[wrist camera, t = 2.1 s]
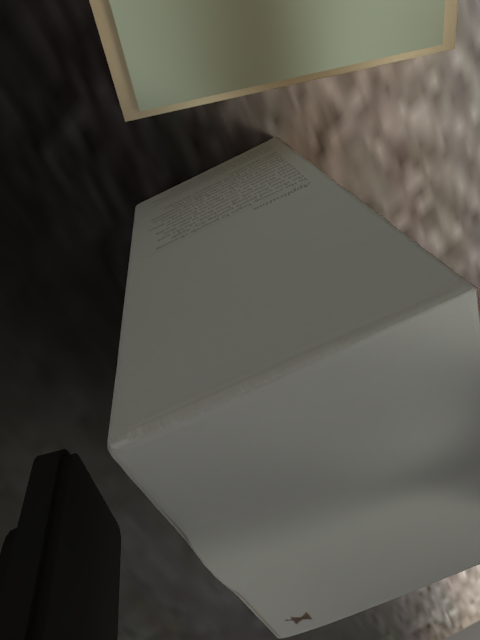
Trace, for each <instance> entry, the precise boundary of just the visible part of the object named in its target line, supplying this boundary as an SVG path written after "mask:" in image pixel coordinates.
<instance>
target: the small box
mask: <svg viewBox="0 0 480 640" xmlns="http://www.w3.org/2000/svg"><path fill="white" fill-rule="evenodd" d="M108 450H109V452H110V454H111V456H112V458H113V459H114V460H115V461H116V462H117V463H118V464H119V465H120V466H121V467H122V469H123V470H124V471H125V472H126V474H127V475H128V476H129V477H130V478H131V480H132V481H133V482H134V483H135V484H136V485H137V486H138V487H139V488H140V489H141V490H142V492H143V493H144V494H145V495H146V496H147V497H148V499H149V500H150V501H151V502H152V503H153V505H154V506H155V507H156V508H157V509H158V510H159V511H160V512H161V513H162V514H163V516H164V517H165V518H166V519H167V520H168V521H169V522H170V523H171V524H172V525H173V527H174V528H175V529H176V530H177V531H178V532H179V534H180V535H181V536H182V537H183V538H184V539H185V540H186V542H187V543H188V544H189V545H190V547H191V548H192V549H193V551H194V552H195V553H196V555H197V556H198V557H199V559H200V560H201V561H202V563H203V564H204V565H205V566H206V567H207V568H208V570H209V571H210V572H211V573H212V574H213V575H214V576H215V577H216V578H217V579H218V580H219V581H221V582H222V583H223V584H224V585H225V586H226V587H227V588H229V589H230V590H231V591H233V592H234V593H235V594H236V595H237V596H238V597H239V598H240V599H241V600H242V601H243V602H244V603H245V604H246V605H247V606H248V607H249V608H250V609H251V610H252V611H253V613H254V614H255V615H256V616H257V617H258V618H259V619H260V620H261V621H262V622H263V623H264V624H265V625H266V626H267V627H268V628H269V629H270V630H271V631H272V632H273V634H274V635H275V636H276V637H277V638H279V639H281V638H286V637H290V636H293V635H297V634H300V633H303V632H306V631H309V630H312V629H315V628H318V627H321V626H324V625H327V624H329V623H332V622H335V621H337V620H340V619H343V618H345V617H348V616H351V615H353V614H356V613H358V612H361V611H364V610H366V609H369V608H371V607H374V606H377V605H379V604H382V603H384V602H387V601H389V600H392V599H395V598H397V597H400V596H402V595H405V594H407V593H410V592H412V591H415V590H417V589H420V588H422V587H425V586H427V585H429V584H432V583H434V582H437V581H439V580H442V579H444V578H446V577H449V576H451V575H454V574H457V573H459V572H462V571H464V570H466V569H468V568H471V567H473V566H476V565H479V564H480V307H479V301H478V288H477V287H475V286H474V285H472V284H471V283H469V282H468V281H466V280H465V279H463V278H462V277H460V276H459V275H458V274H457V273H455V272H454V271H453V270H452V269H450V268H449V267H448V266H447V265H445V264H444V263H443V262H441V261H440V260H438V259H437V258H436V257H434V256H433V255H432V254H430V253H429V252H428V251H426V250H425V249H423V248H422V247H421V246H420V245H419V244H417V243H416V242H415V241H413V240H412V239H411V238H409V237H408V236H407V235H405V234H404V233H403V232H401V231H400V230H399V229H397V228H396V227H395V226H394V225H392V224H391V223H390V222H388V221H387V220H386V219H384V218H383V217H382V216H380V215H379V214H377V213H376V212H375V211H374V210H372V209H371V208H370V207H368V206H367V205H366V204H364V203H363V202H362V201H360V200H359V199H358V198H356V197H355V196H354V195H353V194H351V193H350V192H349V191H347V190H346V189H344V188H343V187H342V186H340V185H339V184H338V183H337V182H335V181H334V180H333V179H332V178H330V177H329V176H328V175H326V174H325V173H323V172H322V171H321V170H320V169H318V168H317V167H316V166H314V165H313V164H312V163H310V162H309V161H308V160H307V159H305V158H304V157H302V156H301V155H300V154H299V153H297V152H296V151H295V150H293V149H292V148H291V147H290V146H288V145H287V144H285V143H284V142H283V141H282V140H280V139H279V138H272V139H270V140H268V141H266V142H264V143H262V144H260V145H258V146H256V147H254V148H252V149H250V150H248V151H246V152H244V153H242V154H240V155H238V156H236V157H234V158H232V159H230V160H228V161H226V162H224V163H221V164H219V165H217V166H215V167H213V168H211V169H209V170H207V171H205V172H203V173H201V174H199V175H197V176H195V177H193V178H191V179H189V180H187V181H185V182H183V183H180V184H178V185H176V186H174V187H172V188H170V189H168V190H166V191H164V192H162V193H160V194H158V195H156V196H154V197H152V198H150V199H147V200H145V201H143V202H141V203H140V204H138V205H137V206H136V208H135V216H134V224H133V233H132V241H131V250H130V258H129V266H128V275H127V283H126V291H125V300H124V308H123V317H122V326H121V334H120V343H119V352H118V362H117V371H116V378H115V386H114V394H113V401H112V409H111V417H110V425H109V434H108Z"/></svg>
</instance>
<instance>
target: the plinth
mask: <svg viewBox="0 0 480 640" xmlns="http://www.w3.org/2000/svg"><path fill="white" fill-rule="evenodd" d="M89 2H90V5H91V8H92V12H93V15H94V18H95V22H96V25H97V28H98V32H99V35H100V39H101V42H102V45H103V49H104V52H105V55H106V59H107V62H108V66H109V69H110V72H111V76H112V79H113V82H114V86H115V89H116V92H117V96H118V99H119V103H120V106H121V109H122V113H123V116H124V119H125V122H127V121H131V120H136V119H140V118H145V117H149V116H154V115H158V114H163V113H167V112H172V111H176V110H181V109H185V108H190V107H194V106H199V105H203V104H208V103H212V102H217V101H221V100H226V99H230V98H235V97H239V96H244V95H248V94H253V93H257V92H262V91H266V90H271V89H275V88H280V87H284V86H289V85H293V84H298V83H302V82H307V81H311V80H316V79H320V78H325V77H329V76H334V75H338V74H343V73H347V72H352V71H356V70H361V69H365V68H370V67H374V66H379V65H383V64H388V63H392V62H397V61H401V60H406V59H410V58H415V57H419V56H424V55H428V54H433V53H437V52H442V51H446V50H451V49H455V38H456V23H457V8H458V0H89Z"/></svg>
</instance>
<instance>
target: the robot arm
mask: <svg viewBox="0 0 480 640" xmlns="http://www.w3.org/2000/svg"><path fill="white" fill-rule="evenodd" d="M120 553H121V535H120V529H119V526H118V523H117V522H116V520H115V518H114V516H113V515H112V513H111V511H110V509H109V508H108V506H107V504H106V502H105V501H104V499H103V497H102V495H101V494H100V492H99V490H98V488H97V487H96V485H95V483H94V482H93V480H92V478H91V476H90V475H89V473H88V471H87V469H86V468H85V466H84V464H83V462H82V461H81V459H80V457H79V456H78V454H76V453H75V454H71V455H70V453H69V452H68V451H67V450H65V449H63V450H59V451H55V452H52V453H48V454H44V455H40V456H37V457H36V458H35V460H34V462H33V466H32V470H31V474H30V478H29V482H28V486H27V490H26V494H25V498H24V502H23V506H22V510H21V514H20V518H19V523H18V527H17V528H15V529H13V530H11V531H10V532H9V533H8V535H7V536H6V538H5V541H4V544H3V547H2V550H1V554H0V640H117V634H118V607H119V580H120Z"/></svg>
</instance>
